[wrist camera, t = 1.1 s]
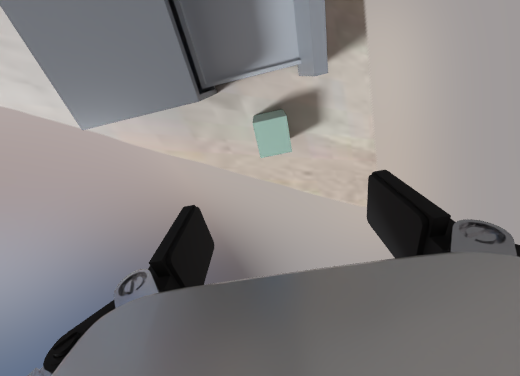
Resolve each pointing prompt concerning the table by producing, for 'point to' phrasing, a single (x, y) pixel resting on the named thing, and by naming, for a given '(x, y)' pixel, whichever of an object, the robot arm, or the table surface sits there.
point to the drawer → (253, 37)
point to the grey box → (110, 55)
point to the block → (272, 133)
